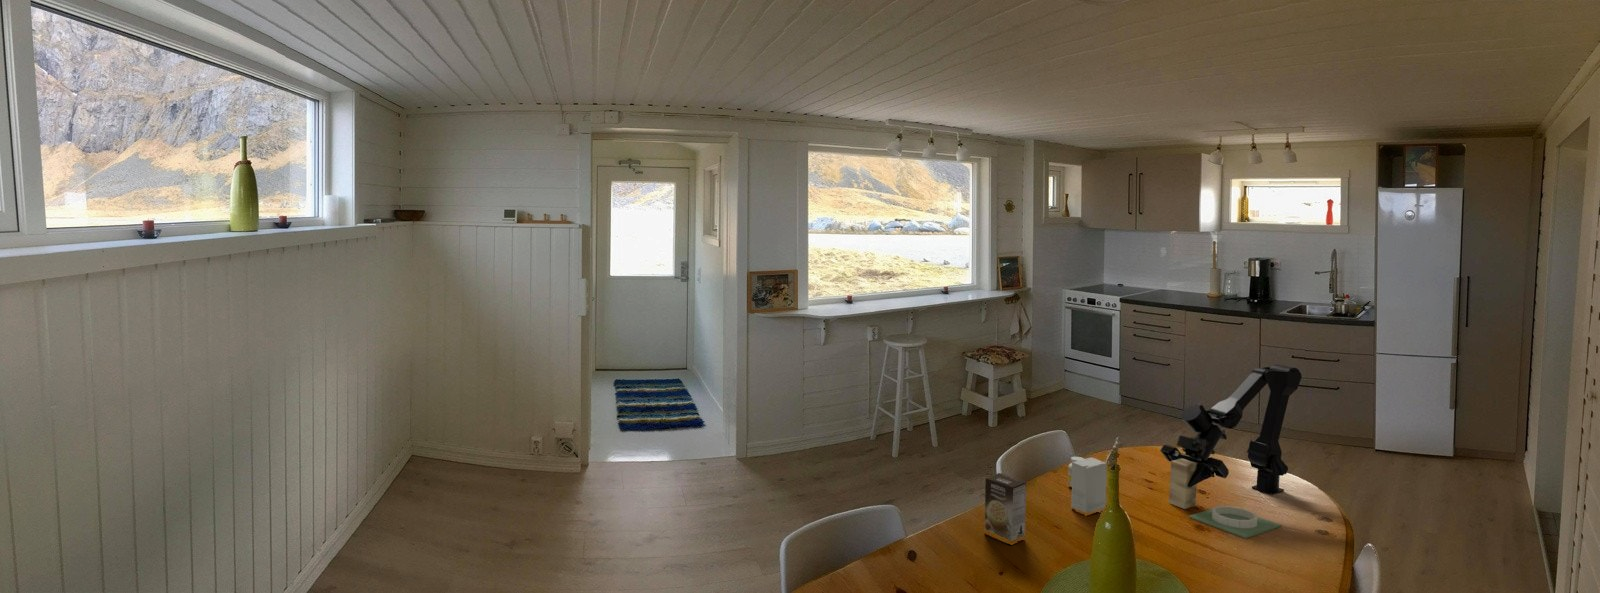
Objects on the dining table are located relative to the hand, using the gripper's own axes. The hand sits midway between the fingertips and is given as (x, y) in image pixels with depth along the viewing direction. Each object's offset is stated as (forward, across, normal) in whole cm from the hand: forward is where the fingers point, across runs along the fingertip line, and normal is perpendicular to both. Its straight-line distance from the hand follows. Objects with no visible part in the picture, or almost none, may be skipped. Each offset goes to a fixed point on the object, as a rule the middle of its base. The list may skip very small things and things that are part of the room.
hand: (1179, 483), depth 214 cm
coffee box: (+48, -8, -38) cm, 62 cm away
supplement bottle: (+15, -25, -5) cm, 30 cm away
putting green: (+3, +15, +6) cm, 17 cm away
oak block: (+4, 0, +6) cm, 7 cm away
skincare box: (+24, -10, -14) cm, 29 cm away
